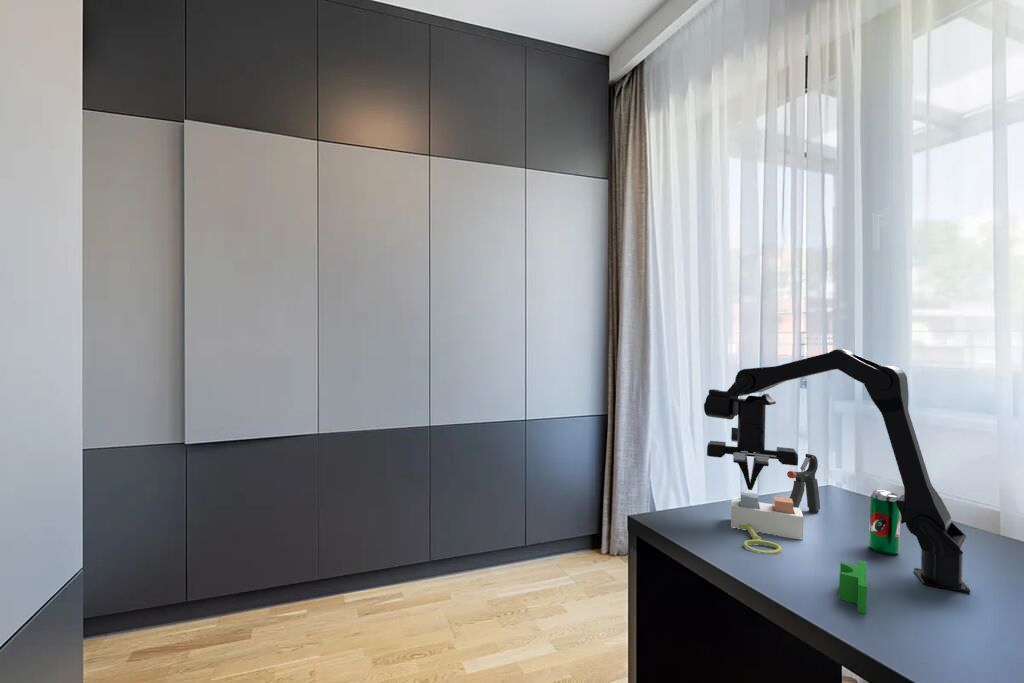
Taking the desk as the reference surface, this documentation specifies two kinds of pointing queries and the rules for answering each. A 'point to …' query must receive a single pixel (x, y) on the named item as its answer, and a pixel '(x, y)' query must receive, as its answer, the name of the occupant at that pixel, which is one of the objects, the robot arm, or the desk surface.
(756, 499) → the grey button
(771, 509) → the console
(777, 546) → the key
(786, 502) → the orange button
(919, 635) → the desk surface
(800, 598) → the desk surface
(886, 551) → the soda can
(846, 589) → the pipe clamp
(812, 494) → the hand grip strengthener
